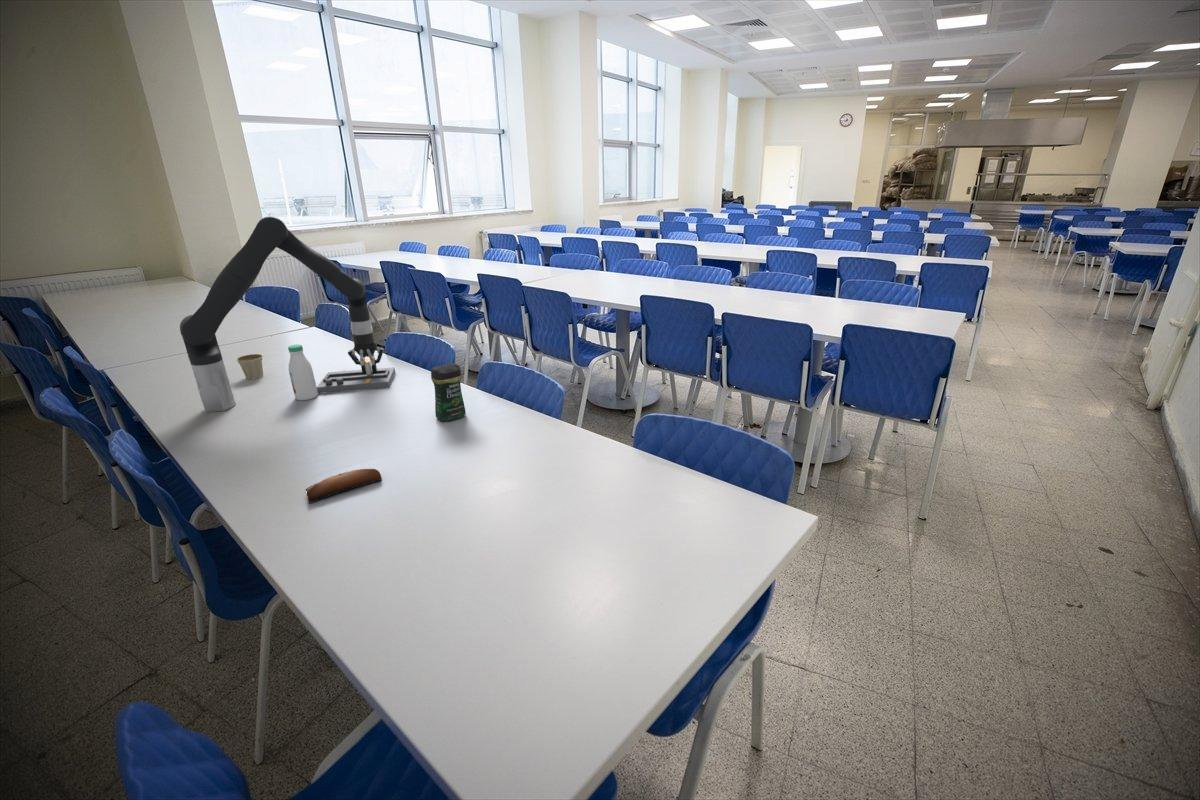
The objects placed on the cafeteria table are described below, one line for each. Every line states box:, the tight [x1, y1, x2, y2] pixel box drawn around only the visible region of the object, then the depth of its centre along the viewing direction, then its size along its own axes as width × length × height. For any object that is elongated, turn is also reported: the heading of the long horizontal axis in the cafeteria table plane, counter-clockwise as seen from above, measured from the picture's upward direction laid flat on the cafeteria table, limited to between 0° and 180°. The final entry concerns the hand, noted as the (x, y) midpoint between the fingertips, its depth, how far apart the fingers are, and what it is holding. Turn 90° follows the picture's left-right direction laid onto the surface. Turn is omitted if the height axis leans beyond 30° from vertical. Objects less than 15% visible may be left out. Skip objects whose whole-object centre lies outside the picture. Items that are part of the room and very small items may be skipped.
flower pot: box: [235, 353, 264, 380], centre depth 221 cm, size 9×9×9 cm
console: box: [316, 367, 396, 394], centre depth 214 cm, size 18×26×4 cm
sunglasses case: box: [304, 468, 383, 504], centre depth 141 cm, size 18×7×7 cm
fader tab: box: [365, 358, 373, 376], centre depth 214 cm, size 4×2×6 cm, turn 12°
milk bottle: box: [287, 344, 319, 401], centre depth 197 cm, size 8×8×20 cm
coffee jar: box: [430, 362, 467, 422], centre depth 179 cm, size 10×8×19 cm
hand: (370, 373), depth 215 cm, fingers open, 2 cm apart
